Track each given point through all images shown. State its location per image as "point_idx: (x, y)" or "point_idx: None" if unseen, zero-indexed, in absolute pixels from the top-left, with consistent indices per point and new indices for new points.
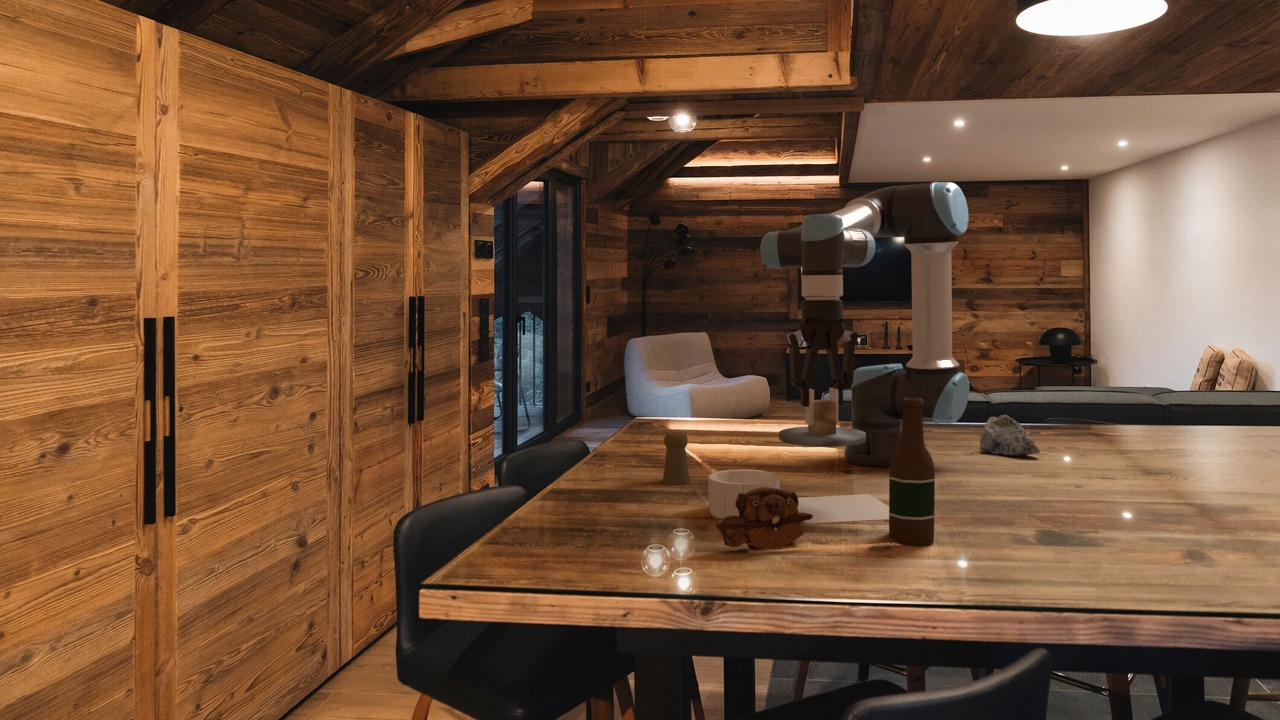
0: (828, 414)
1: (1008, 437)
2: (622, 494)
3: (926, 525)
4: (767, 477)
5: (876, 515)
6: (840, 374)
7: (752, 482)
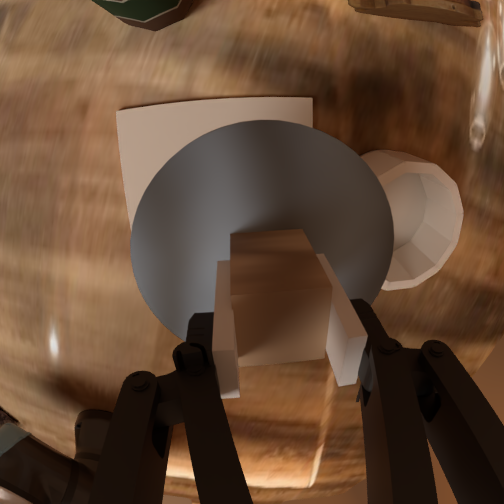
0: (263, 265)
1: None
2: (466, 321)
3: None
4: None
5: (165, 132)
6: (193, 421)
7: None
